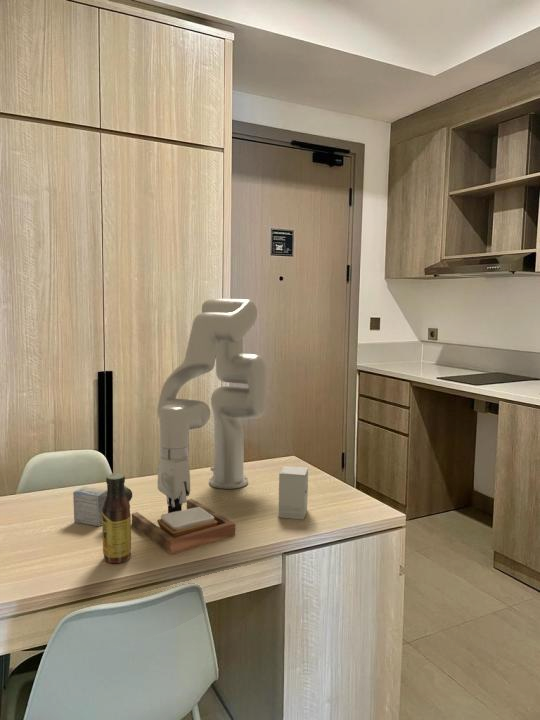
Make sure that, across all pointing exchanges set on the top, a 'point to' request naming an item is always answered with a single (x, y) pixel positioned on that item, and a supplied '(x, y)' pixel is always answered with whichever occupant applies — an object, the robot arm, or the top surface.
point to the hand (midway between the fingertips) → (174, 519)
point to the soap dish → (186, 521)
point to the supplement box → (293, 492)
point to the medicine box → (89, 505)
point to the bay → (185, 541)
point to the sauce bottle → (116, 521)
